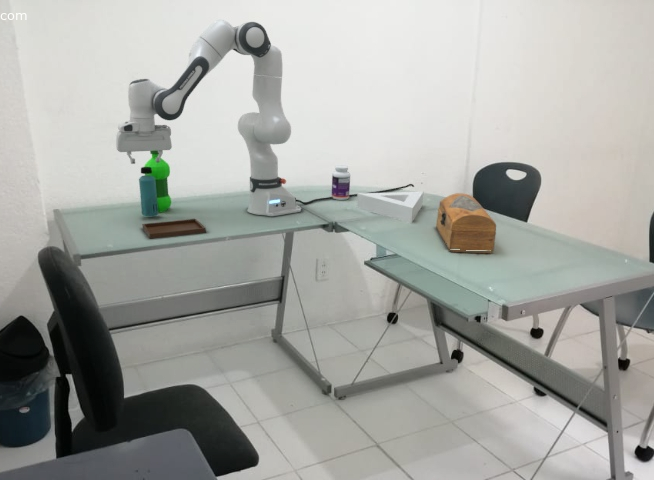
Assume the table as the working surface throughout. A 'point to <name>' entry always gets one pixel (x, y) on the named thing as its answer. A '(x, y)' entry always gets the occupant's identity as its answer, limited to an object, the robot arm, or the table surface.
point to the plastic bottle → (160, 180)
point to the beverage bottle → (148, 193)
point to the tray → (173, 228)
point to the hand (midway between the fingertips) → (145, 162)
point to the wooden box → (465, 224)
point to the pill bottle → (340, 183)
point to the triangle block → (392, 204)
